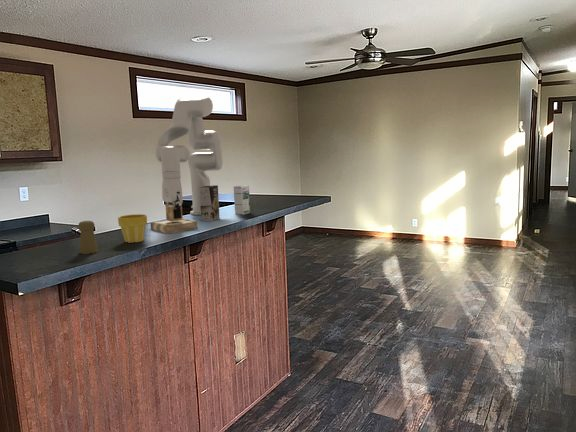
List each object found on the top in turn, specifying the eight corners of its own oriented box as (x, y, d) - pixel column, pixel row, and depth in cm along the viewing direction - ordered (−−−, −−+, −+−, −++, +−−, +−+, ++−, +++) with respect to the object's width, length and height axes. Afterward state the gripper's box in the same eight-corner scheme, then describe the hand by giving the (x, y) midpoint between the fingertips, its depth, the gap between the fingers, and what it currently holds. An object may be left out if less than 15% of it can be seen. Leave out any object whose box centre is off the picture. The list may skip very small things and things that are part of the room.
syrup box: (243, 214, 241) (241, 186, 239) (234, 214, 245) (233, 185, 242) (250, 213, 246) (249, 185, 243) (242, 212, 249) (240, 184, 247)
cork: (101, 251, 167) (98, 220, 165) (84, 254, 162) (81, 223, 161) (93, 249, 171) (90, 219, 169) (76, 252, 166) (73, 221, 165)
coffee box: (213, 221, 224) (211, 186, 222) (200, 221, 226) (198, 187, 223) (220, 218, 233) (218, 185, 231) (207, 217, 234) (205, 185, 232)
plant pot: (128, 238, 189) (126, 213, 188) (153, 238, 188) (151, 213, 186) (114, 243, 179) (112, 218, 178) (140, 244, 177) (138, 218, 176)
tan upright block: (166, 220, 206) (165, 204, 205) (177, 218, 209) (176, 203, 208) (171, 221, 202) (170, 205, 201) (182, 220, 206) (181, 203, 204)
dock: (150, 228, 209) (149, 221, 209) (179, 224, 218) (178, 217, 217) (167, 233, 197) (167, 225, 196) (197, 228, 206) (197, 221, 205)
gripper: (154, 175, 207) (157, 216, 210) (172, 177, 194) (176, 221, 197) (170, 174, 212) (173, 214, 215) (189, 175, 199) (192, 218, 202)
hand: (174, 217), depth 206 cm, fingers closed on tan upright block, 5 cm apart
